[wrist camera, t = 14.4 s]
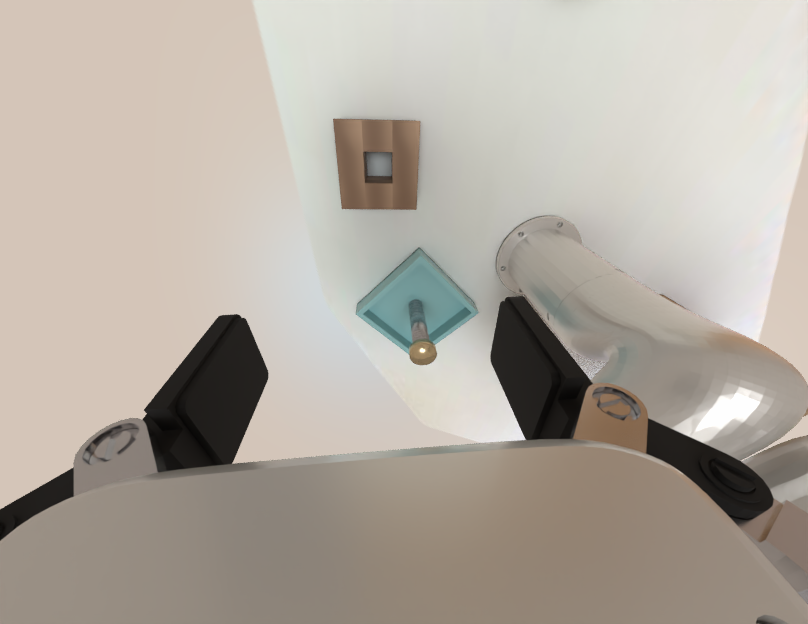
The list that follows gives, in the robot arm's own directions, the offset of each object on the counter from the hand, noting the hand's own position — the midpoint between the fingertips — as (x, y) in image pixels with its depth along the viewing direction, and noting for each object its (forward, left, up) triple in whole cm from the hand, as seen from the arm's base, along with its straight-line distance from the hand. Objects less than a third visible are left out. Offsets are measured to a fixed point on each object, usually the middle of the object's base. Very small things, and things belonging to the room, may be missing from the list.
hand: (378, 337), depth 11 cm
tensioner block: (+2, -1, -33) cm, 33 cm away
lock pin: (-17, +10, -32) cm, 37 cm away
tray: (-17, +10, -33) cm, 38 cm away
